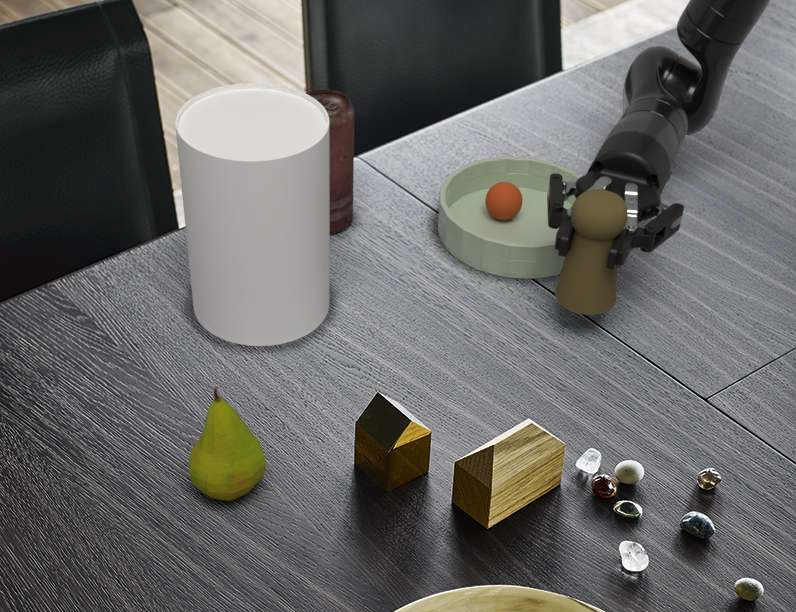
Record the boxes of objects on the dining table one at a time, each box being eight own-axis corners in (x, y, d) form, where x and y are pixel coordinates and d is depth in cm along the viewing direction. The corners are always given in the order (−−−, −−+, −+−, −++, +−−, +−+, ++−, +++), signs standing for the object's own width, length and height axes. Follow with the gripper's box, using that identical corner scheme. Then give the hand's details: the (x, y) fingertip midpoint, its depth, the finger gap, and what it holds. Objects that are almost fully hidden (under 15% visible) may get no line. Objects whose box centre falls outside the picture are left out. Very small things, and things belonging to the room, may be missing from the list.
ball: (503, 190, 138) (533, 202, 136) (483, 219, 138) (513, 232, 136) (494, 169, 135) (524, 181, 133) (474, 199, 134) (504, 212, 132)
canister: (179, 338, 121) (158, 153, 106) (209, 257, 130) (194, 76, 116) (318, 352, 120) (316, 168, 106) (338, 270, 130) (339, 90, 115)
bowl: (590, 192, 142) (595, 160, 139) (602, 283, 130) (608, 250, 127) (438, 184, 142) (440, 152, 139) (436, 274, 130) (439, 241, 127)
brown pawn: (544, 283, 123) (557, 186, 115) (599, 272, 125) (616, 175, 117) (571, 320, 120) (587, 222, 112) (627, 307, 121) (647, 210, 113)
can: (290, 207, 137) (287, 88, 127) (347, 203, 138) (349, 85, 128) (297, 239, 133) (294, 118, 123) (356, 234, 134) (358, 115, 124)
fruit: (258, 458, 110) (252, 351, 101) (272, 508, 106) (267, 401, 97) (185, 469, 109) (173, 362, 100) (196, 520, 104) (184, 413, 96)
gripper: (571, 114, 126) (518, 201, 115) (711, 146, 122) (670, 239, 111) (561, 179, 131) (509, 269, 120) (695, 212, 128) (654, 307, 117)
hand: (587, 254), depth 116 cm, fingers closed on brown pawn, 4 cm apart
